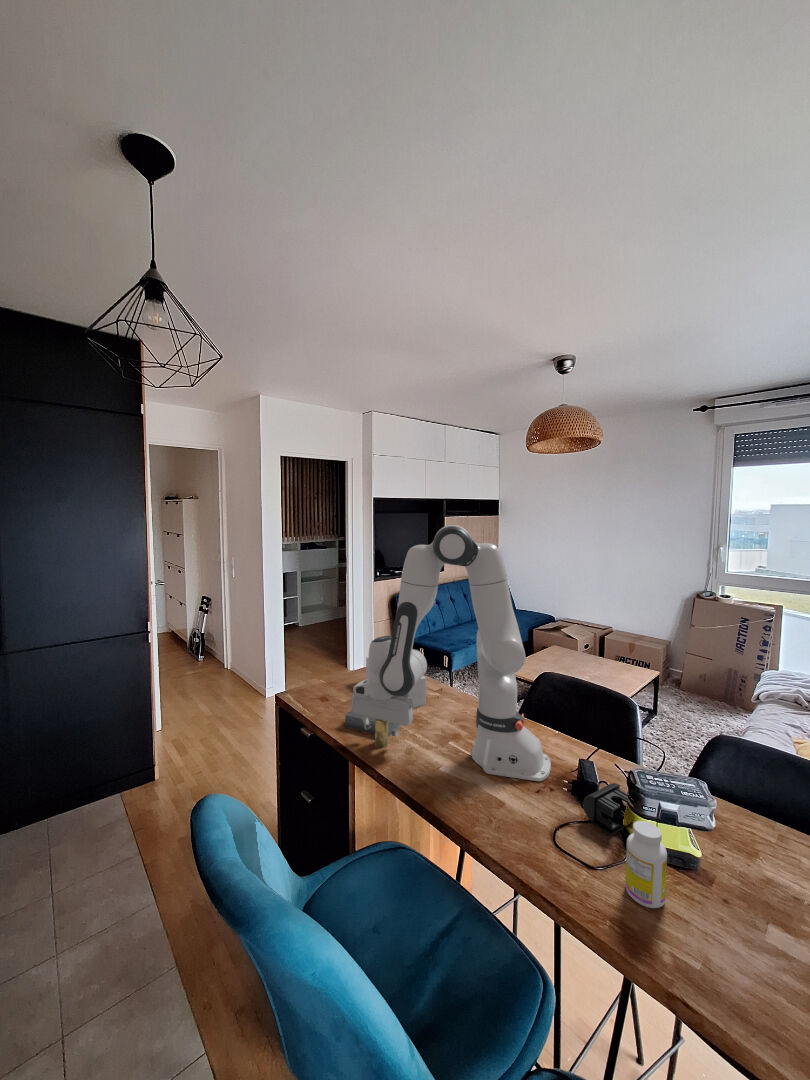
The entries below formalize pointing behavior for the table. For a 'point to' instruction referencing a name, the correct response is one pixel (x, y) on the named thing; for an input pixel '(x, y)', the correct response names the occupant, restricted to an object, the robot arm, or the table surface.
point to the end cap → (607, 808)
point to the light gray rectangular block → (412, 690)
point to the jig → (358, 724)
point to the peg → (381, 733)
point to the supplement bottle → (646, 865)
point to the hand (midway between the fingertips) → (381, 732)
